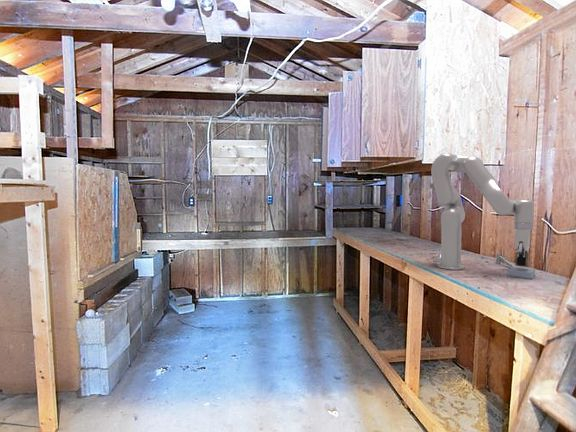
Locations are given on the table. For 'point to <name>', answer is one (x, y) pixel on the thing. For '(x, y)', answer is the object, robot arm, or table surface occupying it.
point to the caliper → (503, 260)
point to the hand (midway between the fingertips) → (522, 264)
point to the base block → (521, 272)
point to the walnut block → (526, 259)
